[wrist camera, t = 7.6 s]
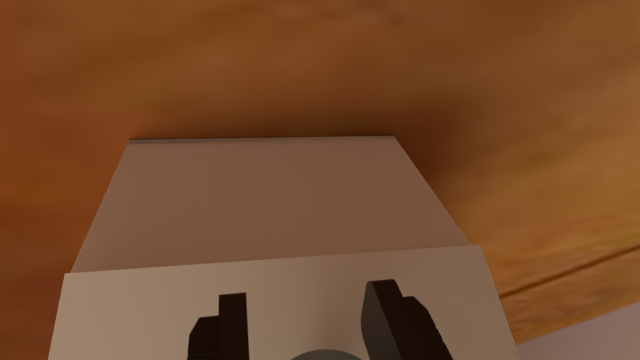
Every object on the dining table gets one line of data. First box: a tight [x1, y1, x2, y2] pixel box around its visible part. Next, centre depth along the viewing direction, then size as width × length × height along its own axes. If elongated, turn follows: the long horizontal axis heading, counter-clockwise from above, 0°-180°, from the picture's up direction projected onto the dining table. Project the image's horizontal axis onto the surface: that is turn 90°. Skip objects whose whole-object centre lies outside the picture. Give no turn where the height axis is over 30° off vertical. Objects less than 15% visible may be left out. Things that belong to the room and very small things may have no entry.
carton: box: [70, 136, 471, 273], centre depth 25 cm, size 16×14×11 cm
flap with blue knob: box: [48, 245, 521, 360], centre depth 12 cm, size 15×7×6 cm
